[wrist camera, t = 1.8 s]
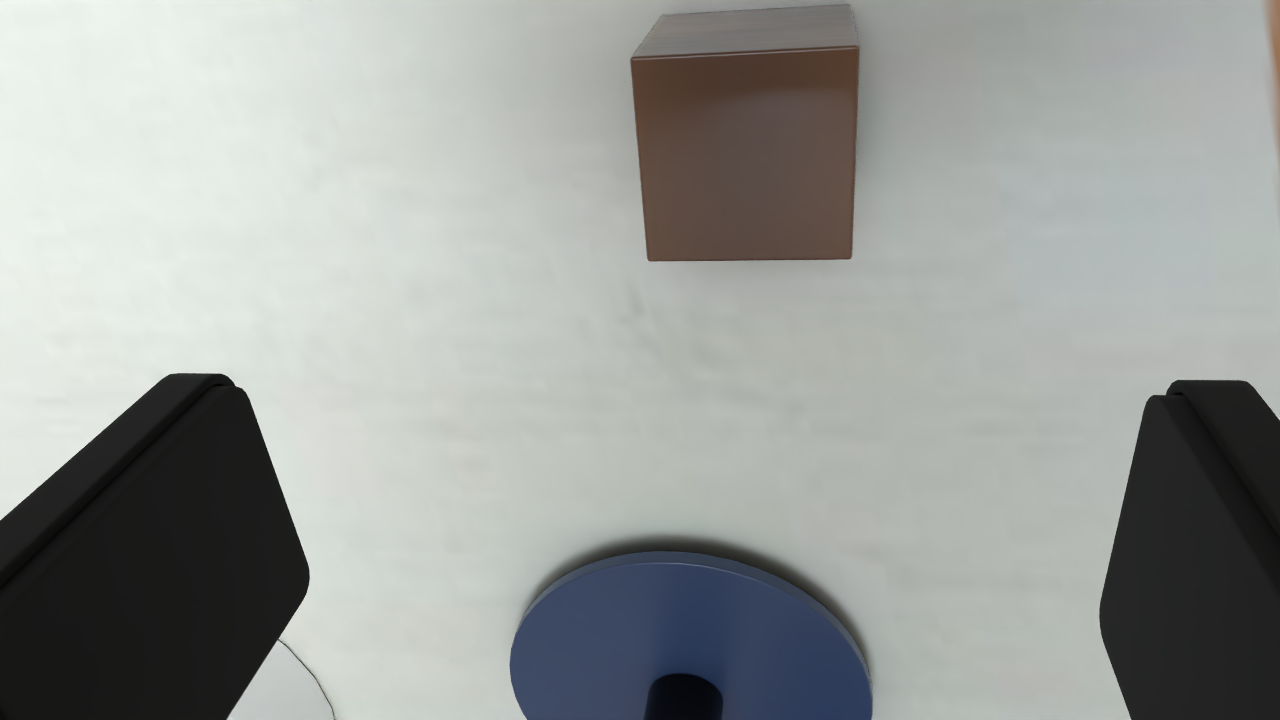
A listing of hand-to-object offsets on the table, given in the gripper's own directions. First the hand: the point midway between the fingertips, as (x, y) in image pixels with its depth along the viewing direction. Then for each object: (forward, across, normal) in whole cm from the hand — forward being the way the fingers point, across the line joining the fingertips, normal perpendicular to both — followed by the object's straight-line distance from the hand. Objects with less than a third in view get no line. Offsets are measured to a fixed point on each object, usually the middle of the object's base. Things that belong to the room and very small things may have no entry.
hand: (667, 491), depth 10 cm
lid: (+12, +2, +18) cm, 22 cm away
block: (+13, 0, -1) cm, 13 cm away
